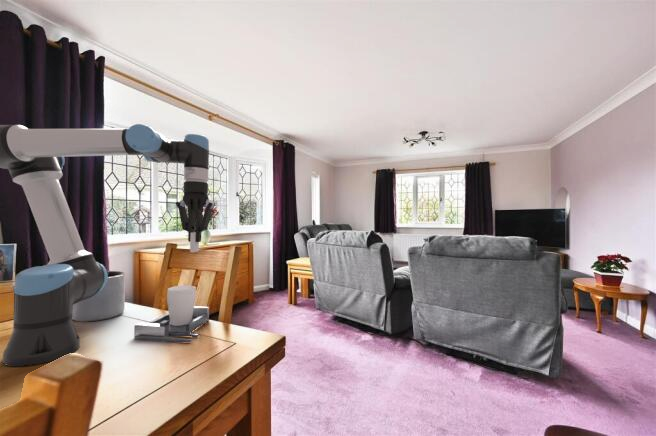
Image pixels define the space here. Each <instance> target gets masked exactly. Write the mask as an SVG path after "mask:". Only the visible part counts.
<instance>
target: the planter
mask: <svg viewBox="0 0 656 436" xmlns="http://www.w3.org/2000/svg"><path fill="white" fill-rule="evenodd" d="M107 274H108V280H107V283H106V285H105V287H104V288H103V289H102V290H101V291H100V292H99V293H98V294H96V295H94V296H93V297H91V298H88V299H86V300H83V301H80V302H78V303H76V304H73V311H72V321H73V320H74V321H75V322H76V321H77V322H82V323H84V322H85V323H86V322H87V323H89V322H99V321H104V320H108V319H113V318H115V317H118V316H120V315H121V314H122V313H123V312H124V310H125V303H126V301H125V298H126V297H125V284H126V281H125V280H126V274H125V272H123V271H117V270H107Z"/></svg>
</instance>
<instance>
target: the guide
mask: <svg viewBox="0 0 656 436" xmlns="http://www.w3.org/2000/svg"><path fill="white" fill-rule="evenodd" d="M172 336H192V337H198V336H200V333H199V334H198V333H191V334H190V333H175V332H169V337H153V336H138V335H136V336H135V338H134V340H136V341H149V342H162V341H168V342H167V343H176V342H191V341H192V339H193V338H184V337H172ZM198 338H199V337H198ZM191 343H192V342H191Z"/></svg>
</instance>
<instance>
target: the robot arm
mask: <svg viewBox="0 0 656 436" xmlns="http://www.w3.org/2000/svg"><path fill="white" fill-rule="evenodd" d="M209 142H210V141H209V139H208V137H206V136H205V135H203V134H198V133H188V134H186V135H185V136H184V140H177V139H175V140H174V139H168V138H166V137H165V136H164V135H163V134H161V133H160V132H158V131H157V130H156V129H155V128H153V127H152V126H149V125H146V124H143V123H135V124H133V125H131V126H129V127H128V128H127V127H126V128H124V127H123V128H122V127H121V128H119V127H118V128H117V127H116V128H28V127H26V126H24V125H21V124H0V169H4V170H8V171H9V174H10V177H11V180H12V183H15V184H17V185H20V186H21V188H22V189H23V192H24V195H25V196H26V200H27V202H28V204H29V207H30V210H31V213H32V216H33V217H34V221H35V223H36V226H37V229H38V232H39V235H40V236H41V239H42V242H43V244H44V247H45V249H46V252H47V254H48V255H47V256H48V258H49V261H48V263H47V264H44V265H42V266H40V265H37V266H33V267H29V268H26V269H24V270H21V271H20V272H19V273H17V274H16V276H15V278H14V285H13V328H12V329H13V330H12V333H11V335H10V337H9V339H8V342H7V345H6V347H5V349H4V350H3V352H2V364H3V363H4V364H7V365H10V366H9V367H15V366H16V367H24V366H23V365H29V366H31V365H30V364H36V365H40V364H44V363H49V362H53V361H56V360H59V359H61V358H60V357H62V356H64V355H66V354H69V353H71V354H73V353H74V352H76V351H77V350H79V348H80V342H81V341H80V340H81V339H80V335H78V332H77V328H76V326H75V324H74V321H73V319H72V311H73V304H76V303H78V302H80V301H83V300H86V299H88V298H91V297H93V296H94V295H96V294H98V293H99V292H100V291H101V290H102V289H103V288H104V287H105V285H106V283H107V280H108V274H107V271H108V270H107V268H106V266H104V264H102V263H100V262H98V261H96V259H95V257H94V254H93V253H92V252H90V251H87V250H86V249H85V247H84V244H83V241H82V240H81V237H80V234H79V231H78V228H77V226H76V222H75V221H74V217H73V216H72V215H73V214H72V213H71V210H70V207H69V204H68V202H67V199H66V196H65V193H64V192H63V187H62V186H61V183H60V180H61V178H62V177H63V175H64V174H63V171H62V170H63V166H65V163H66V160H65V157H100V156H101V157H102V156H103V157H104V156H105V157H106V156H111V157H112V156H143V157H144V159H145V160H146V161H148V162H150V163H158V164H160V163H162V164H163V163H165V164H166V163H168V164H183V179H184V181H183V196H182V199H181V200H179V201H176V202H175V205H176V207H177V209H178V214H179V218H180V223H181V228H182V230H183V231H186V232H187V235H188V236H187V237H188V238H187V240H188V243H189V246H190V247H189V252H190V253H198V252H200V251H199V250H200V243H201V242H202V232H206V231H207V230H208V228H209V225H210V220H211V216H212V212H213V209H214V208H215V206H216V203H215V202H212V201H210V200H209V198H210V197H208V193H209V184H208V182H209V163H210V161H209V160H210V159H209V158H210V145H209ZM186 207H187V208H186ZM204 207H205V209H204ZM72 352H73V353H72ZM69 355H70V354H69ZM64 357H65V356H64ZM58 358H59V359H58ZM62 358H63V357H62ZM39 363H40V364H39ZM4 364H3V365H4Z"/></svg>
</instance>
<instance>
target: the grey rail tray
mask: <svg viewBox="0 0 656 436" xmlns="http://www.w3.org/2000/svg"><path fill="white" fill-rule="evenodd" d="M209 317H210V307H209V306H198V305H197V306H196V305H194V310H193V315H192V321H191V322H189V323H188V324H186V325H182V326H173V325H171V324H170V326H169V332H175V333H190V332H192V331H193V330H195V329H196V328H197V327H199V326H201V325H202V324H203V323H205V322H206V321H208V322H209V320H210V319H209ZM206 319H207V320H206ZM164 320H170V318H169V312H167V313H164V314H163V315H161V316H159V317H157V318H154V319H153V320H151V321H149V322H148V323H158V324H160V322H162V321H164ZM201 327H202V326H201ZM195 331H196V330H195ZM192 333H193V332H192Z"/></svg>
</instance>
